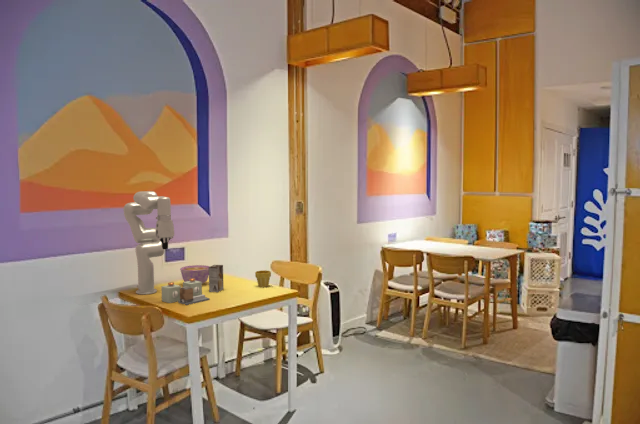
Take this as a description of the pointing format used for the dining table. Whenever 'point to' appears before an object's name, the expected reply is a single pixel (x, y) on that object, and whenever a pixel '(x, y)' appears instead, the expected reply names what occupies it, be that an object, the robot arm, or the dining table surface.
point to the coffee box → (216, 278)
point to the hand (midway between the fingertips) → (165, 249)
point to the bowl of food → (195, 273)
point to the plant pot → (263, 278)
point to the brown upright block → (186, 294)
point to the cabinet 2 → (194, 287)
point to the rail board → (195, 300)
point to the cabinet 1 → (170, 293)
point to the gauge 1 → (171, 284)
